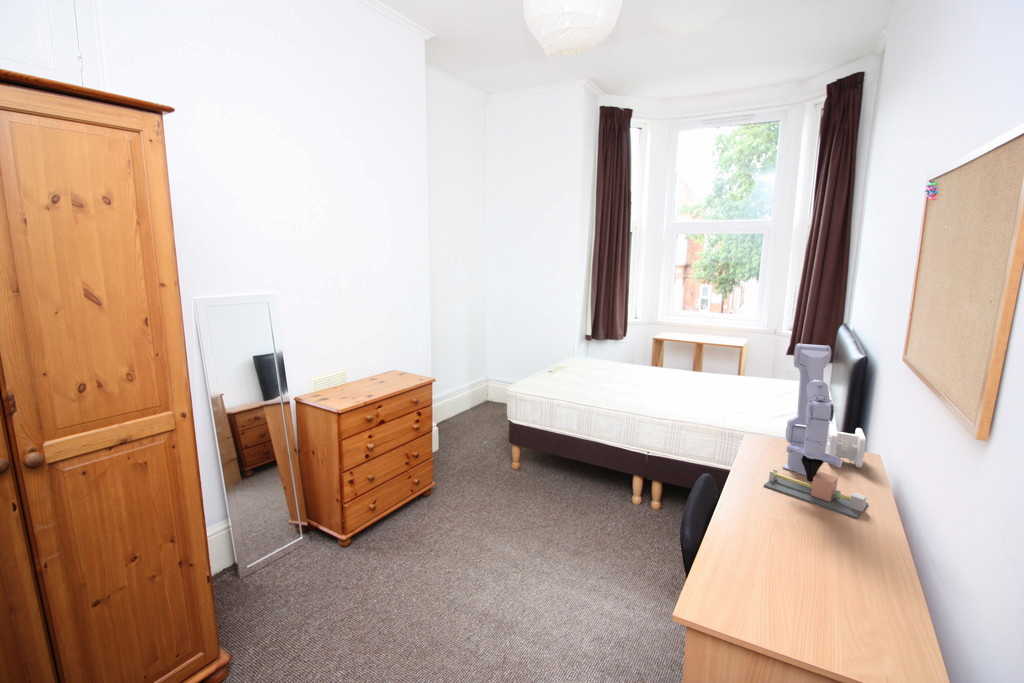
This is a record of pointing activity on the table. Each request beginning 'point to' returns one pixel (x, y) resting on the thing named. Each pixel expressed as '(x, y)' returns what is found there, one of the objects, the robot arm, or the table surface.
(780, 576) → the table surface
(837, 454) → the cable organizer
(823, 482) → the marker sleeve
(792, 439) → the robot arm
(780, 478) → the cord rig
